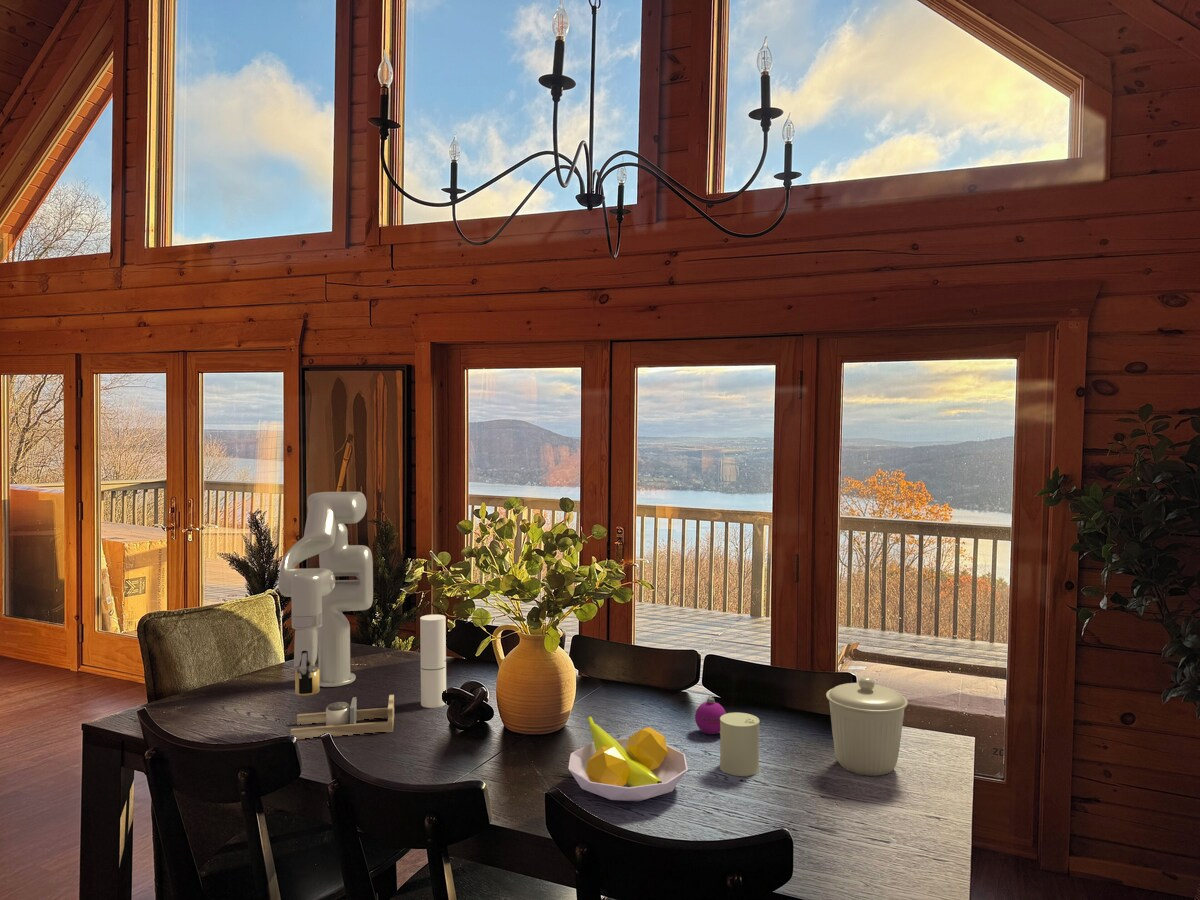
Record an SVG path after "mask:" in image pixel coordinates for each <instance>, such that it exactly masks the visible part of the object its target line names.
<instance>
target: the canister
mask: <svg viewBox="0 0 1200 900" xmlns="http://www.w3.org/2000/svg"><path fill="white" fill-rule="evenodd" d="M825 697H826V699H827V700H828V701H829V710H830V711H829V713H830V722H831V731H832V737H833V739H832V740H833V747H834V753H835V758H836V759H837V762H838V763H839V765H840V766H841V767H843V768H844V769H845V770H847V771H849V772H852V773H853V774H857V775H862V776H869V777H870V776H871V777H872V776H873V777H876V776H877V777H878V776H884V775H888V774H889V773H891V772H892V771H893V770H894V769H895V768H896V767H897V763H898V759H899V752H900V747H901V739H902V732H903V731H902V730H903V722H904V715H905V709H906V708H907V706H908V705H909V701H908V699H907V698H906V697H905V696H904V695H902V694H900V693H899V692H898V691H897V690H894V689H892V688H889V687H888V686H884V685H880V684H875V681H874V680H873V679H872V678H871V677H867V676H865V677H864V676H863V677H861V678H860V679H859V680H858V682H850V683H849V682H847V683H843V684H839V685H836V686H834V687H832V688H830V689H829V690H827V691H826V693H825Z"/></svg>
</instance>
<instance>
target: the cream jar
mask: <svg viewBox="0 0 1200 900" xmlns="http://www.w3.org/2000/svg"><path fill="white" fill-rule="evenodd" d="M350 706H351V704H349V703H348V702H346V701H336V702H332V703H329V704H328V705H327V706H326V708H325V712H326V723H325V726H332V725H345V724H350Z"/></svg>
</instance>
